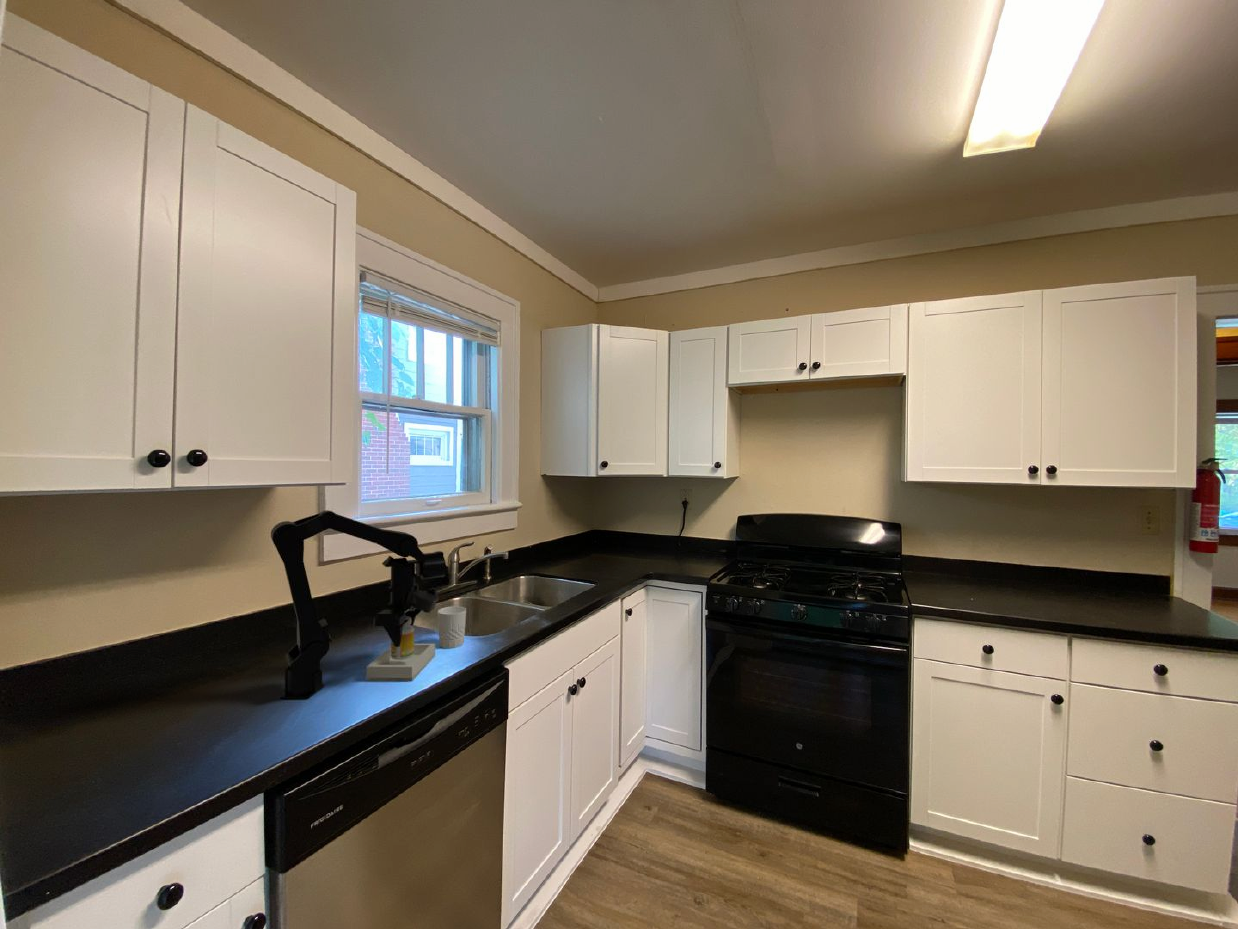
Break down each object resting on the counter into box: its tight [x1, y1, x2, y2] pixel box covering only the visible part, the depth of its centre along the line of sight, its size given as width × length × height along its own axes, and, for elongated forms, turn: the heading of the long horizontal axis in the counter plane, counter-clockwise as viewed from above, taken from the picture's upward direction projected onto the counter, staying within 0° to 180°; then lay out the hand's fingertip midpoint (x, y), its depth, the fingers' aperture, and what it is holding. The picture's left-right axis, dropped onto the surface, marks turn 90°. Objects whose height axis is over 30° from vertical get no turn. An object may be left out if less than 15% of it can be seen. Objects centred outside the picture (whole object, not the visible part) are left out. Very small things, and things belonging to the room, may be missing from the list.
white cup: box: [437, 605, 467, 649], centre depth 142 cm, size 8×8×10 cm
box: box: [365, 643, 436, 682], centre depth 125 cm, size 11×15×4 cm
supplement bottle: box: [390, 616, 415, 660], centre depth 125 cm, size 5×5×10 cm
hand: (402, 642), depth 125 cm, fingers closed on supplement bottle, 5 cm apart
